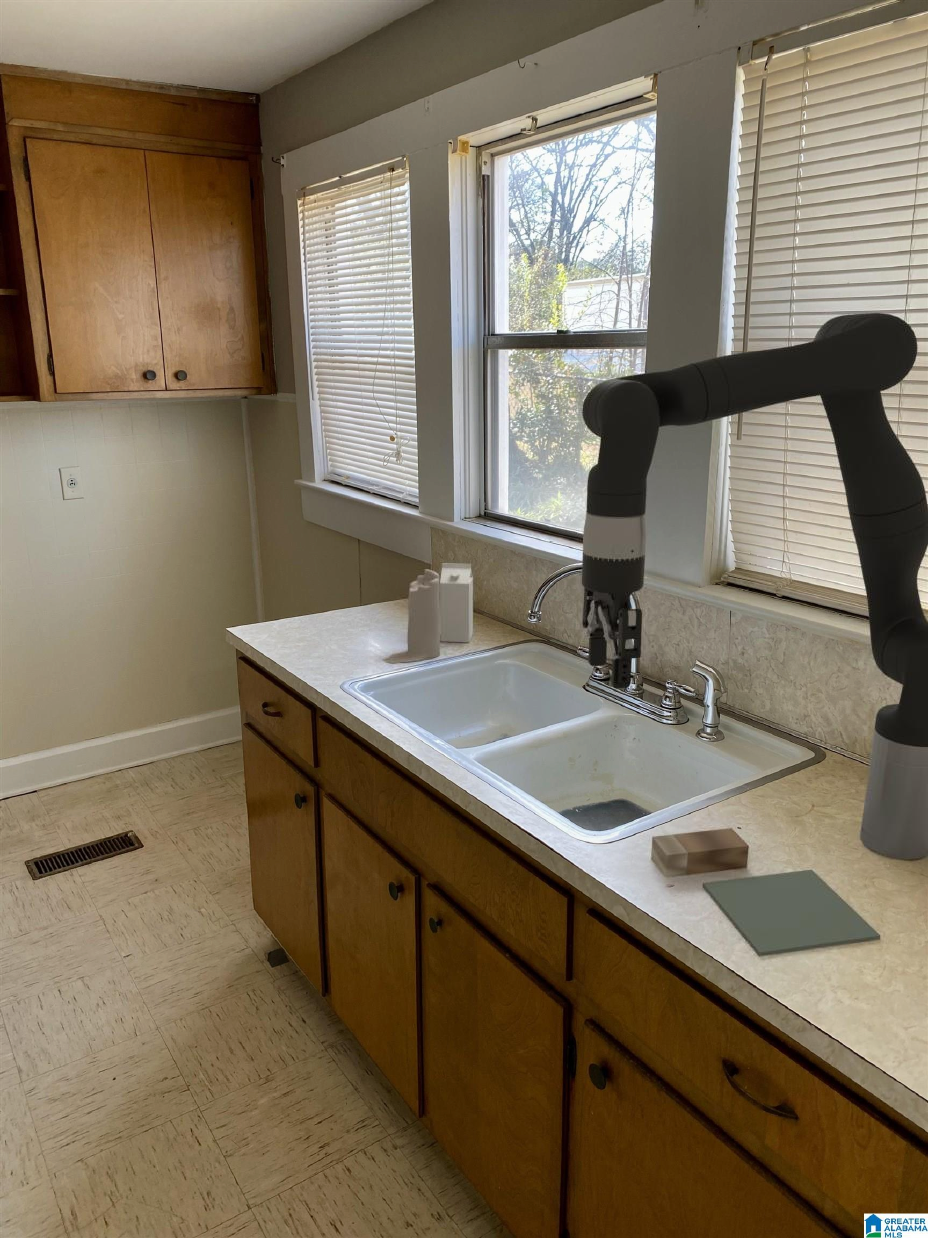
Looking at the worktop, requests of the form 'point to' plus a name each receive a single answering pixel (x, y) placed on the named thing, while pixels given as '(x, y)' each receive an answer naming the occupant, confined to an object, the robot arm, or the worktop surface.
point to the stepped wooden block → (699, 852)
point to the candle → (422, 620)
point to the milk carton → (456, 602)
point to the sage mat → (789, 912)
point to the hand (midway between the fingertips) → (608, 675)
